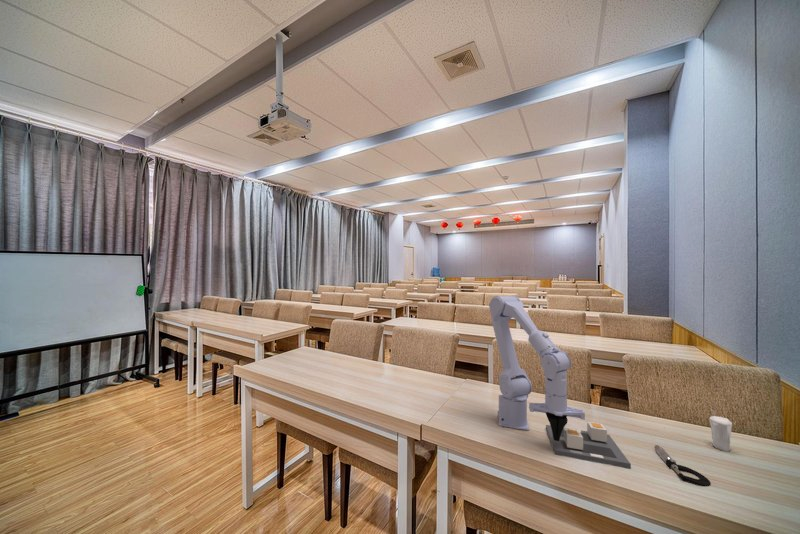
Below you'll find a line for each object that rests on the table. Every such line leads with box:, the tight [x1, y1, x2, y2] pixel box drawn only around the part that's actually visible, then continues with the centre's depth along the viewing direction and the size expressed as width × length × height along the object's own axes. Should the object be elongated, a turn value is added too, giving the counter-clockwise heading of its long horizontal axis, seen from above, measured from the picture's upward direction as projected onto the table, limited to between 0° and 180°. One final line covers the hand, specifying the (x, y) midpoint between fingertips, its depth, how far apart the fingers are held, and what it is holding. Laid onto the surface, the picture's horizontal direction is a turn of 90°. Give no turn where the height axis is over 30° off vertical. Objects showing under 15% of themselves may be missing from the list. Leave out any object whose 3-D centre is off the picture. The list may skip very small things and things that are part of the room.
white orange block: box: [586, 421, 608, 442], centre depth 88 cm, size 4×4×4 cm
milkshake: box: [709, 409, 733, 452], centre depth 87 cm, size 5×5×10 cm
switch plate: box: [545, 424, 632, 469], centre depth 86 cm, size 18×15×1 cm
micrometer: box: [654, 444, 712, 487], centre depth 77 cm, size 15×7×2 cm, turn 158°
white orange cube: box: [564, 427, 583, 450], centre depth 84 cm, size 4×4×4 cm
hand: (556, 439), depth 85 cm, fingers closed
